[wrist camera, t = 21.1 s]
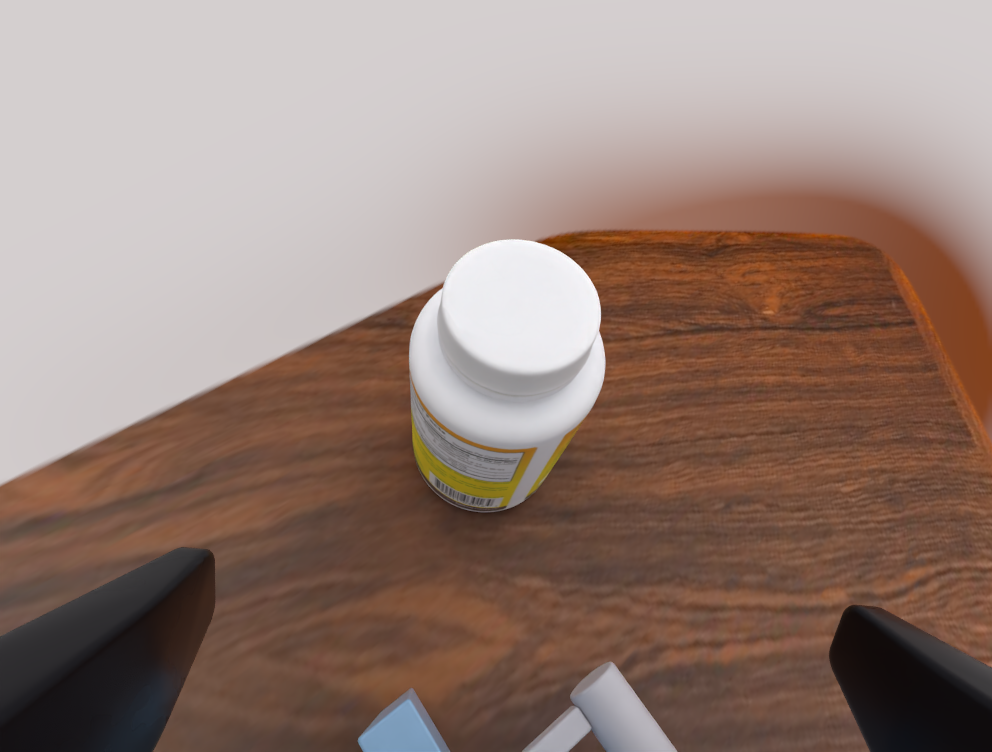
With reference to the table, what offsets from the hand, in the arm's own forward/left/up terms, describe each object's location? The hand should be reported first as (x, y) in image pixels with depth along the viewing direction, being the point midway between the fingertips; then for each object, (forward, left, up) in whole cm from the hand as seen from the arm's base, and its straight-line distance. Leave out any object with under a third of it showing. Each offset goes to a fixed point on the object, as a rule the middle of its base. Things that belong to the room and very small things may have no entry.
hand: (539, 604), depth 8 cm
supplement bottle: (+5, -4, -13) cm, 15 cm away
